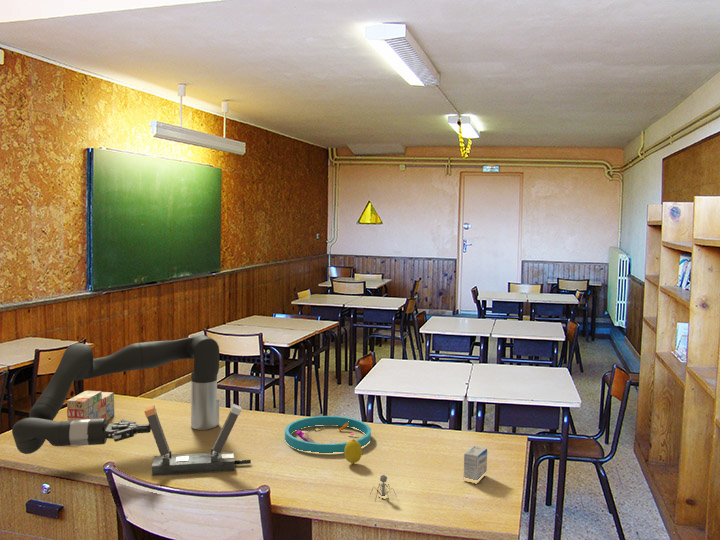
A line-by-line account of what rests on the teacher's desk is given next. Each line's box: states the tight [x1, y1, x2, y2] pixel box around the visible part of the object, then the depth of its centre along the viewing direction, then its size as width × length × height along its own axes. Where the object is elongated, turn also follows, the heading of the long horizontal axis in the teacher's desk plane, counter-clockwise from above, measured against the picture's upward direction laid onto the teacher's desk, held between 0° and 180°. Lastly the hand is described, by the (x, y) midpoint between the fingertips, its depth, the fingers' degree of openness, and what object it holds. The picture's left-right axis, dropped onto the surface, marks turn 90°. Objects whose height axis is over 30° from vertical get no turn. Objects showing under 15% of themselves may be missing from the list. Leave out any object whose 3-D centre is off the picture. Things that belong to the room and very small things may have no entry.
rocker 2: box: [212, 403, 243, 455], centre depth 193 cm, size 3×4×17 cm, turn 13°
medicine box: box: [463, 445, 488, 480], centre depth 189 cm, size 8×4×9 cm, turn 148°
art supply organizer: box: [284, 415, 372, 453], centre depth 220 cm, size 30×30×6 cm
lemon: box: [343, 438, 363, 464], centre depth 198 cm, size 6×6×8 cm
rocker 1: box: [144, 405, 171, 458], centre depth 189 cm, size 3×4×17 cm, turn 12°
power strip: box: [151, 447, 252, 477], centre depth 192 cm, size 29×8×5 cm, turn 102°
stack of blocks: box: [66, 390, 115, 421], centre depth 229 cm, size 21×6×12 cm, turn 174°
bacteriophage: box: [369, 474, 397, 501], centre depth 175 cm, size 7×8×7 cm
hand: (150, 428), depth 187 cm, fingers closed
